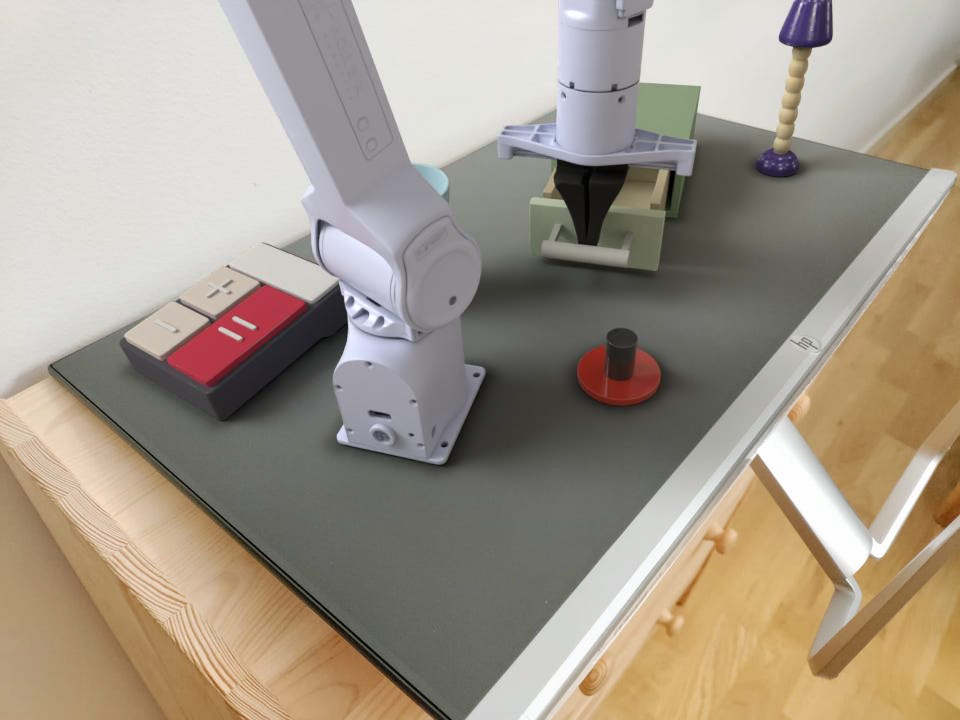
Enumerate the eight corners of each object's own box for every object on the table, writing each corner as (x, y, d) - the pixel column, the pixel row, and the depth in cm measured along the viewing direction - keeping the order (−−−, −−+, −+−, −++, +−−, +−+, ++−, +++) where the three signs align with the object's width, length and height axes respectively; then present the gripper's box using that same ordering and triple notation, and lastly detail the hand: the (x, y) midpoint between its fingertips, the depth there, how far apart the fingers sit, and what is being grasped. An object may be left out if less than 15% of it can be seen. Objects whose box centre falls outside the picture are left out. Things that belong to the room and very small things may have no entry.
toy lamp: (742, 167, 75) (778, -5, 64) (766, 151, 77) (804, -17, 66) (784, 181, 72) (828, 4, 61) (808, 165, 74) (855, -8, 63)
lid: (654, 412, 49) (660, 372, 47) (569, 397, 51) (570, 358, 48) (664, 357, 53) (670, 317, 51) (586, 344, 55) (588, 305, 52)
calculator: (111, 334, 53) (258, 233, 62) (135, 374, 56) (273, 272, 65) (204, 388, 48) (351, 269, 57) (225, 428, 51) (362, 310, 60)
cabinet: (676, 218, 68) (686, 150, 63) (550, 204, 71) (551, 139, 67) (691, 147, 79) (701, 85, 74) (581, 138, 82) (584, 78, 77)
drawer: (650, 301, 57) (657, 246, 54) (516, 282, 60) (515, 229, 57) (675, 190, 70) (682, 140, 67) (565, 179, 73) (566, 131, 70)
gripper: (710, 62, 50) (684, 228, 59) (513, 52, 54) (517, 209, 63) (702, 101, 45) (675, 276, 54) (486, 87, 49) (494, 252, 58)
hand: (589, 243), depth 58 cm, fingers closed, pressing on drawer
